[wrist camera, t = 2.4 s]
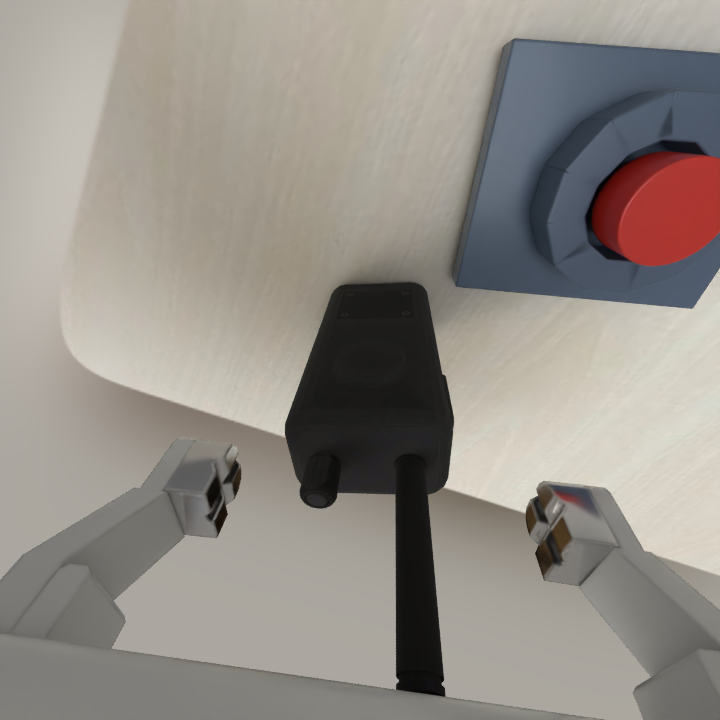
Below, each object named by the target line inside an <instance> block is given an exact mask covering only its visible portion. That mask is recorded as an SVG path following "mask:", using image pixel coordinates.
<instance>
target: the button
mask: <svg viewBox="0 0 720 720" xmlns="http://www.w3.org/2000/svg"><path fill="white" fill-rule="evenodd" d="M592 228H593V231H594V234H595V236H596V237H597V239H598V240H599V241H600V242H601V243H602V244H603V245H605V246H606V247H608V248H610V249H612V250H613V251H615V252H617V253H618V254H620V255H622V256H623V257H625V258H627V259H628V260H630V261H632V262H634V263H636V264H639V265H644V266H661V265H667V264H671V263H674V262H677V261H680V260H682V259H685V258H687V257H689V256H691V255H692V254H694V253H696V252H697V251H699V250H700V249H702V248H703V247H704V246H706V245H707V244H708V243H709V242H710V241H712V240H713V239H714V238H715V237H716V236H717V235H718V234H719V232H720V158H717V157H713V156H706V155H698V154H689V153H680V152H671V151H659V152H653V153H649V154H646V155H643V156H640V157H638V158H636V159H634V160H632V161H631V162H629V163H627V164H626V165H624V166H623V167H622V168H620V169H619V170H618V171H617V172H616V173H615V174H614V175H613V176H612V177H611V178H610V179H609V180H608V181H607V182H606V184H605V185H604V186H603V188H602V189H601V191H600V193H599V194H598V196H597V199H596V201H595V204H594V206H593V211H592Z"/></svg>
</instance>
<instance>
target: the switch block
mask: <svg viewBox="0 0 720 720" xmlns="http://www.w3.org/2000/svg"><path fill="white" fill-rule="evenodd" d="M659 151H671V152H680V153H689V154H698V155H706V156H713V157H717V158H720V53H711V52H697V51H683V50H669V49H656V48H642V47H628V46H614V45H600V44H586V43H572V42H558V41H545V40H531V39H517V38H515V39H513V40H512V41H510V42H509V43H507V44H506V45H504V47H503V51H502V56H501V60H500V65H499V69H498V74H497V78H496V82H495V87H494V91H493V96H492V100H491V105H490V109H489V114H488V118H487V123H486V127H485V132H484V136H483V141H482V145H481V150H480V154H479V158H478V163H477V167H476V172H475V176H474V181H473V185H472V190H471V194H470V199H469V203H468V208H467V212H466V217H465V221H464V226H463V230H462V234H461V239H460V243H459V248H458V252H457V257H456V261H455V266H454V270H453V275H452V278H453V280H454V283H455V286H456V287H463V288H474V289H485V290H495V291H506V292H517V293H528V294H539V295H549V296H560V297H571V298H582V299H593V300H603V301H614V302H625V303H636V304H647V305H657V306H668V307H679V308H690V309H692V308H693V307H694V306H695V304H696V303H697V301H698V300H699V298H700V297H701V295H702V294H703V292H704V291H705V289H706V288H707V286H708V285H709V283H710V282H711V280H712V279H713V277H714V276H715V274H716V273H717V271H718V270H719V268H720V232H719V234H718V235H717V236H716V237H715V238H714V239H713V240H712V241H710V242H709V243H708V244H707V245H706V246H704V247H703V248H702V249H700V250H699V251H697V252H696V253H694V254H692V255H691V256H689V257H687V258H685V259H682V260H680V261H677V262H674V263H671V264H667V265H661V266H644V265H639V264H636V263H634V262H632V261H630V260H628V259H627V258H625V257H623V256H622V255H620V254H618V253H617V252H615V251H613V250H612V249H610V248H608V247H606V246H605V245H603V244H602V243H601V242H600V241H599V240H598V239H597V237H596V236H595V234H594V231H593V228H592V211H593V206H594V204H595V201H596V199H597V196H598V194H599V193H600V191H601V189H602V188H603V186H604V185H605V184H606V182H607V181H608V180H609V179H610V178H611V177H612V176H613V175H614V174H615V173H616V172H617V171H618V170H619V169H620V168H622V167H623V166H624V165H626V164H627V163H629V162H631V161H632V160H634V159H636V158H638V157H640V156H643V155H646V154H649V153H653V152H659Z"/></svg>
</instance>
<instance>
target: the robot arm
mask: <svg viewBox="0 0 720 720" xmlns="http://www.w3.org/2000/svg"><path fill="white" fill-rule="evenodd" d="M237 455H238V451H237V447H236V445H232V444H225V443H218V442H212V441H204V440H198V439H190V438H183V437H179V438H178V439H176V440H175V441H174V442H173V443H172V445H171V446H170V447H169V449H168V450H167V452H166V453H165V454H164V456H163V457H162V458H161V460H160V461H159V463H158V464H157V465H156V467H155V468H154V470H153V471H152V472H151V474H150V475H149V476H148V478H147V479H146V481H145V482H144V483H143V485H142V486H141V488H133V489H131V490H130V491H128V492H126V493H125V494H123V495H121V496H120V497H118V498H117V499H115V500H113V501H111V502H110V503H108V504H106V505H105V506H103V507H101V508H100V509H98V510H96V511H95V512H93V513H91V514H90V515H88V516H86V517H85V518H83V519H82V520H80V521H78V522H77V523H75V524H73V525H71V526H70V527H68V528H66V529H65V530H63V531H61V532H60V533H58V534H56V535H55V536H53V537H51V538H50V539H48V540H47V541H45V542H43V543H42V544H40V545H38V546H37V547H35V548H33V549H32V550H30V551H28V552H27V553H25V554H23V555H22V556H21V557H20V559H19V560H18V561H17V562H16V563H15V564H14V565H13V566H12V568H11V569H10V570H9V571H8V572H7V573H6V574H5V575H4V576H3V578H2V579H1V580H0V720H602V719H596V718H588V717H582V716H575V715H568V714H560V713H554V712H546V711H540V710H533V709H526V708H519V707H512V706H505V705H498V704H491V703H484V702H478V701H471V700H464V699H457V698H450V697H443V696H436V695H429V694H422V693H415V692H408V691H401V690H394V689H387V688H380V687H374V686H367V685H359V684H353V683H346V682H339V681H331V680H325V679H318V678H311V677H304V676H297V675H290V674H283V673H276V672H269V671H263V670H256V669H249V668H242V667H235V666H228V665H221V664H214V663H207V662H200V661H193V660H186V659H179V658H172V657H165V656H159V655H152V654H144V653H138V652H130V651H124V650H117V649H111V648H112V646H113V645H114V643H115V641H116V639H117V637H118V635H119V633H120V631H121V630H122V628H123V626H124V624H125V622H126V621H125V616H124V614H123V613H122V612H121V610H120V609H119V608H118V606H117V605H116V604H115V602H114V600H115V599H116V598H117V597H118V596H119V595H120V594H121V593H123V592H124V591H125V590H126V589H127V588H128V587H129V586H130V585H131V584H133V583H134V582H135V581H136V580H137V579H138V578H139V577H140V576H141V575H143V574H144V573H145V572H146V571H147V570H148V569H149V568H150V567H151V566H153V565H154V564H155V563H156V562H157V561H158V560H159V559H160V558H162V557H163V556H164V555H165V554H166V553H167V552H168V551H169V550H171V549H172V548H173V547H174V546H175V545H176V544H177V543H178V542H180V541H181V540H182V539H183V538H184V535H190V536H200V537H210V538H217V537H218V535H219V533H220V530H221V528H222V526H223V523H224V521H225V519H226V517H227V515H228V514H227V510H226V505H227V504H228V503H229V502H231V501H233V500H234V499H235V496H236V494H237V492H238V489H239V485H240V480H241V466H240V464H239V463H238V462H237V461H236V460H235V459H236V457H237ZM536 490H537V493H538V496H537V497H535V498H533V499H531V500H530V502H529V504H528V506H527V508H526V523H527V528H528V532H529V535H530V537H531V538H532V539H533V540H534V541H535V542H536V543H537V544H538V548H537V550H536V553H535V554H536V557H537V560H538V563H539V567H540V569H541V573H542V576H543V579H544V581H550V582H556V583H562V584H569V585H575V586H580V587H579V589H580V590H581V591H582V593H583V594H584V595H585V596H586V597H587V598H588V600H589V601H590V602H591V604H592V605H593V606H594V607H595V609H596V610H597V611H598V612H599V613H600V615H601V616H602V617H603V618H604V619H605V621H606V622H607V623H608V625H609V626H610V627H611V628H612V629H613V631H614V632H615V633H616V634H617V636H618V637H619V638H620V639H621V641H622V642H623V643H624V644H625V645H626V647H627V648H628V649H629V651H630V652H631V653H632V654H633V656H634V657H635V658H636V659H637V660H638V662H639V663H640V664H641V665H642V667H643V668H644V669H645V670H646V672H647V673H648V674H649V675H650V676H651V678H649V679H648V680H646V681H644V682H643V683H641V684H640V685H638V686H637V687H636V688H635V690H634V692H633V695H634V697H635V700H636V702H637V705H638V707H639V710H640V712H641V715H642V717H643V720H720V610H719V609H718V608H717V607H716V606H714V605H713V604H712V603H711V602H710V601H708V600H707V599H706V598H705V597H703V596H702V595H701V594H700V593H699V592H698V591H696V590H695V589H694V588H693V587H692V586H690V585H689V584H688V583H687V582H686V581H685V580H683V579H682V578H681V577H680V576H679V575H677V574H676V573H675V572H674V571H673V570H672V569H670V568H669V567H668V566H667V565H666V564H664V563H663V562H662V561H661V560H659V559H658V558H657V557H656V556H655V555H654V554H652V553H651V552H646V551H644V550H643V548H642V546H641V544H640V543H639V541H638V539H637V538H636V536H635V534H634V532H633V531H632V529H631V527H630V526H629V524H628V522H627V520H626V519H625V517H624V515H623V514H622V512H621V510H620V508H619V507H618V505H617V503H616V502H615V500H614V498H613V496H612V495H611V493H610V492H609V491H608V490H607V489H606V488H602V487H593V486H585V485H580V484H570V483H561V482H551V481H543V482H541V483H540V484H539V485H538V487H537V489H536Z"/></svg>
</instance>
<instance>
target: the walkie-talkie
mask: <svg viewBox="0 0 720 720" xmlns="http://www.w3.org/2000/svg"><path fill="white" fill-rule="evenodd" d="M453 425H454V416H453V410H452V405H451V400H450V395H449V390H448V385H447V380H446V376H445V375H442V370H441V365H440V360H439V355H438V349H437V344H436V339H435V333H434V328H433V323H432V317H431V312H430V307H429V301H428V296H427V291H426V290H425V289H424V288H423V287H422V286H421V285H419V284H416V283H390V284H361V285H344V286H340V287H338V288H337V289H335V290H334V292H333V293H332V295H331V298H330V300H329V303H328V306H327V309H326V312H325V314H324V317H323V320H322V323H321V325H320V328H319V331H318V334H317V337H316V339H315V342H314V345H313V348H312V351H311V353H310V356H309V359H308V362H307V364H306V367H305V370H304V373H303V376H302V378H301V381H300V384H299V387H298V390H297V392H296V395H295V398H294V401H293V403H292V406H291V409H290V412H289V415H288V417H287V420H286V423H285V436H286V440H287V444H288V447H289V451H290V454H291V458H292V462H293V466H294V470H295V474H296V477H297V479H298V480H299V482H300V483H301V488H300V497H301V499H302V500H303V502H304V503H305V504H307V505H309V506H310V507H313V508H327V507H329V506H330V505H332V504H333V503H334V502H335V500H336V498H337V493H367V494H371V493H372V494H396V677H397V678H398V679H399V682H398V683H397V684H396V690H401V691H408V692H415V693H422V694H429V695H436V696H443V697H445V688H444V687H443V686H442V684H441V683H442V682H443V681H444V674H443V663H442V652H441V641H440V630H439V618H438V607H437V597H436V584H435V574H434V562H433V550H432V539H431V528H430V517H429V505H428V494H432V493H435V492H437V491H438V490H440V489H441V488H442V487H444V485H445V483H446V481H447V479H448V474H449V465H450V456H451V447H452V438H453Z"/></svg>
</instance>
